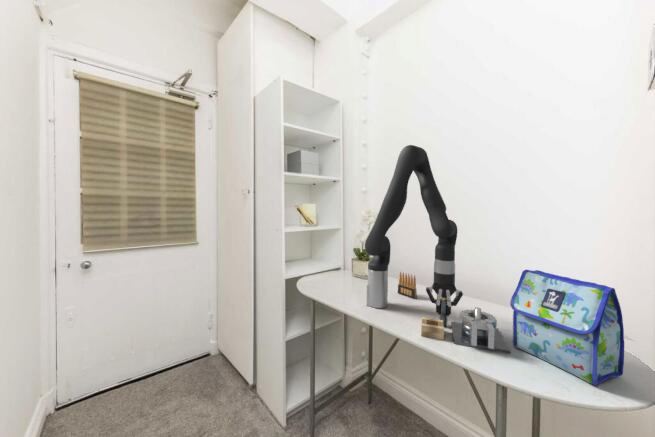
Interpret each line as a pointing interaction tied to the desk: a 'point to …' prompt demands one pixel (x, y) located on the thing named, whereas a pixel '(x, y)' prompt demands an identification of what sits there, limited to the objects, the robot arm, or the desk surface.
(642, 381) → the desk surface
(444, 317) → the dark grey cylinder
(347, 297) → the desk surface
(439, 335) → the holder
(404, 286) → the ammunition clip
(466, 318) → the grey cube ring
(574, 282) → the lunch bag
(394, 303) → the desk surface
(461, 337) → the chuck base
